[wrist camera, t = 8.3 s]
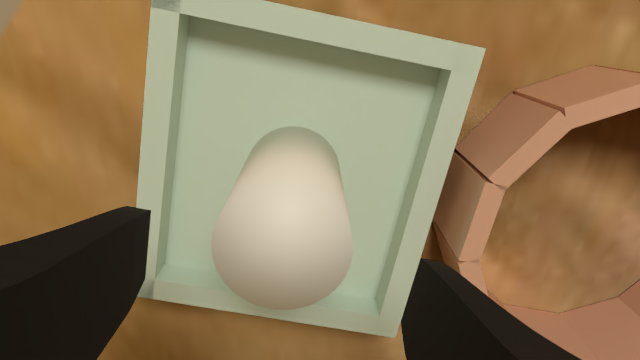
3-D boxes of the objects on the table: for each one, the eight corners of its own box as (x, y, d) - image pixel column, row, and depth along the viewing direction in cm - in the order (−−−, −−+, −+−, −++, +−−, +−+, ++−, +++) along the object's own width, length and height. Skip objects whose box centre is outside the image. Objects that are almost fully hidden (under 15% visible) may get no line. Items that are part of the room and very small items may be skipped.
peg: (348, 136, 19) (367, 198, 12) (328, 222, 20) (336, 319, 14) (254, 117, 18) (221, 170, 12) (240, 205, 20) (203, 297, 13)
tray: (468, 45, 18) (485, 48, 16) (388, 311, 22) (395, 338, 21) (170, -19, 17) (153, -24, 15) (145, 271, 22) (129, 295, 20)
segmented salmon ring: (767, 102, 19) (878, 122, 15) (640, 341, 23) (703, 403, 20) (486, 41, 18) (532, 47, 14) (405, 301, 22) (424, 359, 19)
